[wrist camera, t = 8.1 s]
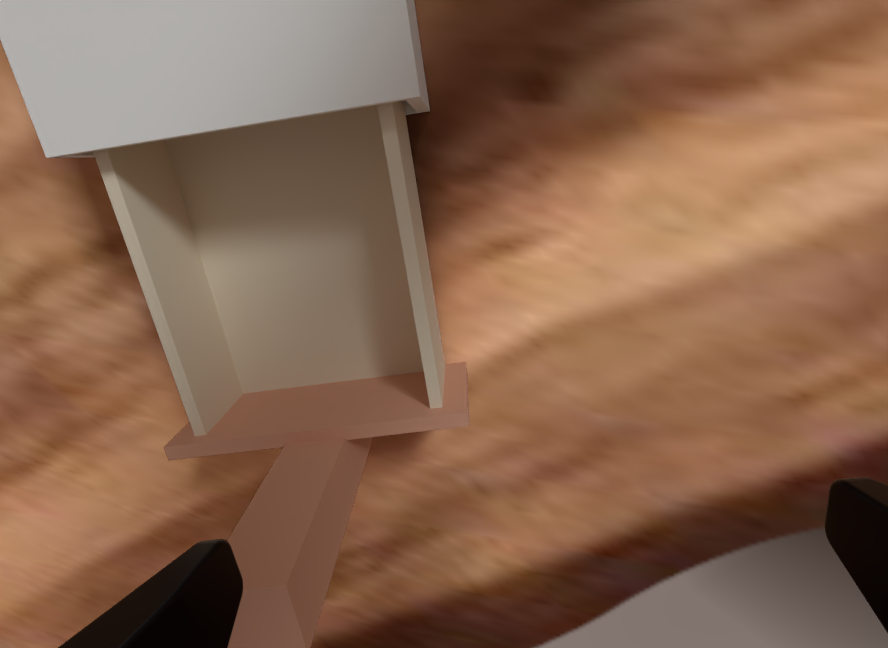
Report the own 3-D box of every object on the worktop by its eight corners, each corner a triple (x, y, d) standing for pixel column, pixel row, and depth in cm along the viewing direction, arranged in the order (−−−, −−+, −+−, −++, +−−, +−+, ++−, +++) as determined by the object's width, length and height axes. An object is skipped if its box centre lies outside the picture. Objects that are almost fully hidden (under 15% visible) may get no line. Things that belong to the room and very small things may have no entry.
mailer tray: (406, -46, 15) (324, -371, 6) (473, 416, 20) (486, 639, 11) (94, 12, 15) (-429, -192, 6) (235, 443, 20) (57, 674, 11)
